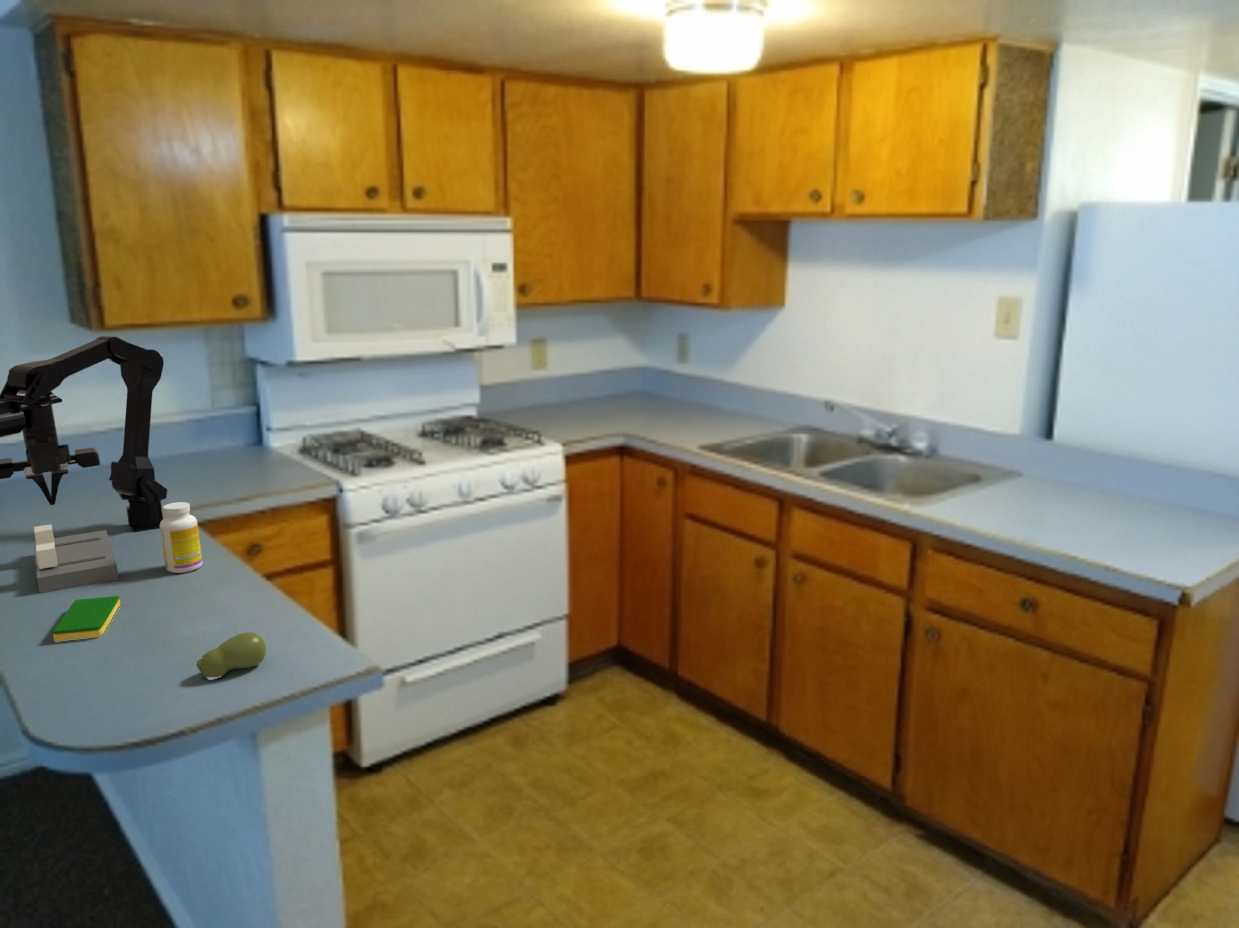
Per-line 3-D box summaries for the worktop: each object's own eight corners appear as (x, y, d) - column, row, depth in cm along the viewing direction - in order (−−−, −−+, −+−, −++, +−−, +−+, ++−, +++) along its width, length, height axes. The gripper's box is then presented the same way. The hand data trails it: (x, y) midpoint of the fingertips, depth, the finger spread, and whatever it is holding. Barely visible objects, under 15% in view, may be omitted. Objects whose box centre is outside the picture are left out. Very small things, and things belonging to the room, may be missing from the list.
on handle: (56, 559, 181) (54, 542, 180) (57, 565, 178) (54, 548, 177) (38, 562, 180) (35, 545, 179) (39, 569, 176) (36, 551, 176)
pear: (265, 634, 143) (198, 663, 138) (274, 664, 145) (208, 693, 140) (254, 621, 148) (188, 649, 142) (263, 651, 150) (198, 679, 144)
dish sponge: (54, 645, 154) (51, 631, 153) (77, 612, 167) (75, 599, 166) (102, 640, 156) (100, 626, 155) (121, 607, 169) (119, 594, 168)
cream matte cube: (54, 540, 192) (51, 524, 191) (54, 546, 189) (52, 529, 188) (36, 543, 190) (34, 526, 190) (37, 549, 187) (34, 532, 186)
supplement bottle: (210, 565, 188) (202, 502, 185) (182, 576, 182) (174, 512, 179) (186, 560, 191) (178, 498, 187) (158, 571, 185) (149, 508, 181)
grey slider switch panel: (108, 543, 201) (106, 529, 200) (118, 578, 181) (116, 563, 180) (36, 555, 194) (34, 540, 193) (39, 593, 174) (36, 577, 173)
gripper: (-18, 443, 175) (-2, 523, 180) (96, 430, 185) (108, 506, 189) (-18, 432, 184) (-3, 508, 189) (91, 420, 194) (103, 493, 198)
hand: (52, 504), depth 191 cm, fingers closed
